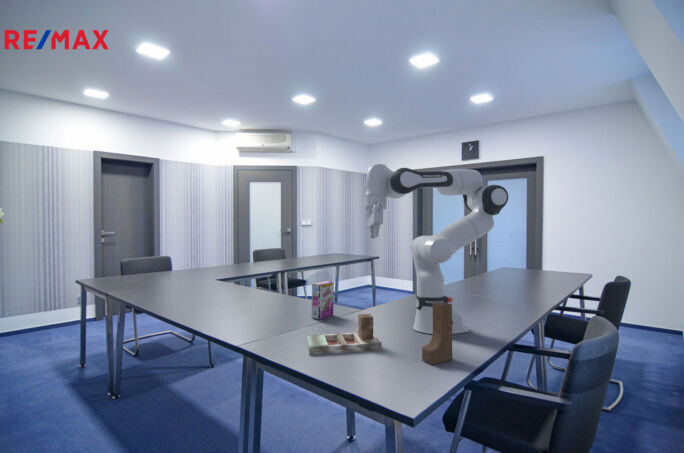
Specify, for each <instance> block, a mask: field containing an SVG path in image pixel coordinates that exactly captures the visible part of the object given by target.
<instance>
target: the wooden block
mask: <svg viewBox="0 0 684 453" xmlns="http://www.w3.org/2000/svg"><path fill="white" fill-rule="evenodd" d="M452 308H453V304H451V303H450V302H448V303H445V302H437V303H433V334H431V339H430V341H429V343H428V344H426V345H423V346H421V347H422V348H421V359H422V362H425V363H427V365H431V366H432V365H437V364H441V363H445V362H449V361H452V360H453V334H452Z"/></svg>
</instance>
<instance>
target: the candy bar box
mask: <svg viewBox="0 0 684 453" xmlns="http://www.w3.org/2000/svg"><path fill="white" fill-rule="evenodd" d="M334 289H335V288H334V281H330V280H329V281H328V280H325V281H320V282H315V283H312V284H311V319H314V320H319V321H320V320H322V319H325V318H328V317H331V316H334V297H335V296H334V295H335V294H334V293H335V291H334Z"/></svg>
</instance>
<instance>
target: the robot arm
mask: <svg viewBox="0 0 684 453" xmlns="http://www.w3.org/2000/svg"><path fill="white" fill-rule="evenodd" d="M432 188H433V189H434V188H436V190H437V192H438V193H439V194H441V195H444V196H460V195H461V196H462V198H463V204H464V206H465V208H466V209H467V210H468V211H470V213H469V214H468V215H465V216H463V217H461V218H459V219H457V220H456V221H453V222H451V223H449V224H448V225H446V226H445V227H444V228H443V229H442V230H440V231H439V232H437V233H435V234H431V235H420V236H418V237H417V236H416V238H414V239H413V240H412V241H411V243H410V252H411V254H412V258H413V264H414V268H415V275H416V294H415V318H414V322H413V323H414V324H413V326H412V328H413V330H414V331H416V332H420V333H424V334H430V335H433V303H437V302H445V303H449V304H451V303H452V302H453V297H450V296H446V295H445V277H444V274H443V272H442V269H441V266H440V264H442V263H446V262H448V261H449V260H450V259H451V257H452V256H453V255H454V254H455V253H456V252H458V251H459V250H460V249H462V248H464V247H466V246H468V245H469V244H472V243H473V242H474V241H477V240H479V239H480V238H482V237H483V236H485V235H486V234H488V233H489V232H490V231H492V229H493V228H494V226H495V220H494V216H496V215H498V214H500V212H502V211H501V210H503V208H504V207H505V206H506V205H507V203H508V201H509V192H508V191H507V189H506V188H505V187H504V186H501V185H499V184H490V185H485V184H484V183H483V176H482V174H481V173H480V171H478V170H476V169H469V168H453V169H452V168H451V169H445V170H442V171H417V170H414V169H411V168H410V167H400V168H398V169H396V170H395V171H393V170H391V169H390V168H388V166H387V165H386V164H381V163H379V164H374V165H371V166H370V167H369V168H368V169H367V171H366V179H365V190H366V192H365V195H364V196H365V198H364V208H365V211H366V223H367V225H366V226H367V228H368V229H369V232H370V236H369V237H370V239H372V240H373V239H376V238H377V237H379V234H380V229H381V228H380V226H382V225H383V223H384V210H386V209H387V204H388V203H387V200H388V198H392V199H400V198H403V197H404V196H406V195H407V194H410V193H412V192H414V191H415V190H418V189H432ZM468 332H470V329H469V326H467V324H466V325H465V324H464V321H463V317H462V315H461V313H459V311H457V310H456V309H455V308H454V307H452V335H455V334H456V335H457V334H461V333H462V334H463V333H468Z"/></svg>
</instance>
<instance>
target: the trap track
mask: <svg viewBox="0 0 684 453" xmlns="http://www.w3.org/2000/svg"><path fill="white" fill-rule="evenodd" d="M306 345H307V349H308V355H309V356H316V355H327V354H328V355H330V354H345V353H360V352H361V351H362V352H376V351H382V342H381V341H380V339H379V338H378V337H377V336H376V334H374V333H373V339H371V340H361V339H360V338H359V336H358V332H343V333H331V334H330V333H329V334H327V333H326V334H308V335H306Z"/></svg>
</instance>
